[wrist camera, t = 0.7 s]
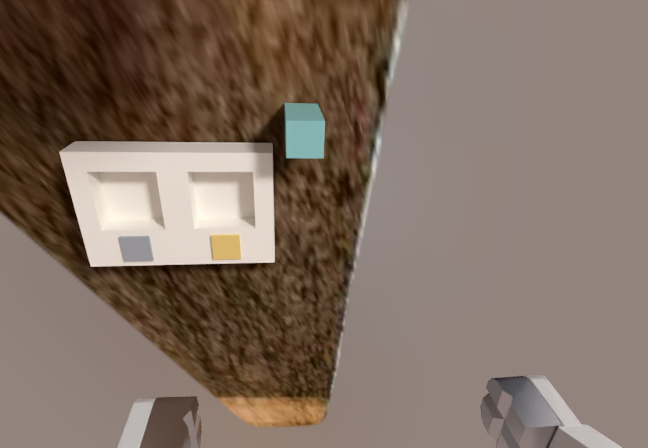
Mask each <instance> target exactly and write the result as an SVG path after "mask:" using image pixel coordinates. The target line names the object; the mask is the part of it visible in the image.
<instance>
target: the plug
mask: <svg viewBox="0 0 648 448" xmlns="http://www.w3.org/2000/svg"><path fill="white" fill-rule="evenodd" d="M324 133H325V120H324V118H323V115H322V113H321V111H320V108H319V106H318V104H308V103H285V147H286V158H324Z"/></svg>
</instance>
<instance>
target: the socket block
mask: <svg viewBox="0 0 648 448" xmlns="http://www.w3.org/2000/svg"><path fill="white" fill-rule="evenodd" d="M59 153H60V157H61V161H62V164H63V168H64V172H65V175H66V179H67V183H68V186H69V190H70V193H71V197H72V201H73V204H74V208H75V212H76V215H77V219H78V223H79V226H80V230H81V233H82V237H83V241H84V244H85V248H86V252H87V255H88V259H89V263H90V266H91V267H100V266H143V265H185V264H227V263H269V262H275V231H274V182H273V143H228V142H109V141H75V142H73V143H72V144H70V145H69V146H67V147H66V148H64V149H63V150H61V151H60V152H59Z"/></svg>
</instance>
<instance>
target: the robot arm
mask: <svg viewBox="0 0 648 448" xmlns="http://www.w3.org/2000/svg"><path fill="white" fill-rule="evenodd" d="M486 388H487V390H488V392H489V393H488V394H487V395H486V396H485V397H483V399H482V403H481V407H480V408H481V417H482V420H483V424H484V426H485V428H486V430H487V432H488V434H490V435H491V436H492V437H494V438H495V439H496V440H497V444H496V448H622V447H620V446H619V445H617V444H616V443H614V442H613V441H611V440H610V439H608V438H606V437H605V436H603V435H602V434H600V433H599V432H597V431H596V430H594V429H593V428H591V427H589V426H588V425H581V423H580V422H579V421H578V419H577V418H576V417H575V415H574V414H573V413H572V411H571V410H570V409H569V407H568V406H567V405H566V403H565V402H564V401H563V399H562V398H561V397H560V395H559V394H558V393H557V391H556V390H555V389H554V387H553V386H552V385H551V383H550V382H549V381H548V379H547V378H546V377H544V376H543V375H534V376H513V377H501V378H491V379H490V380H489V381H488V383H487V386H486ZM198 406H199V405H198V400H197V397H196V396H192V397H162V398H142V399H136V400H135V402H134V403H133V405H132V407H131V410H130V413H129V415H128V418H127V421H126V423H125V426H124V429H123V431H122V434H121V437H120V440H119V442H118V445H117V448H200V444H201V418H200V416H199V415H197V411H198Z"/></svg>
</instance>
